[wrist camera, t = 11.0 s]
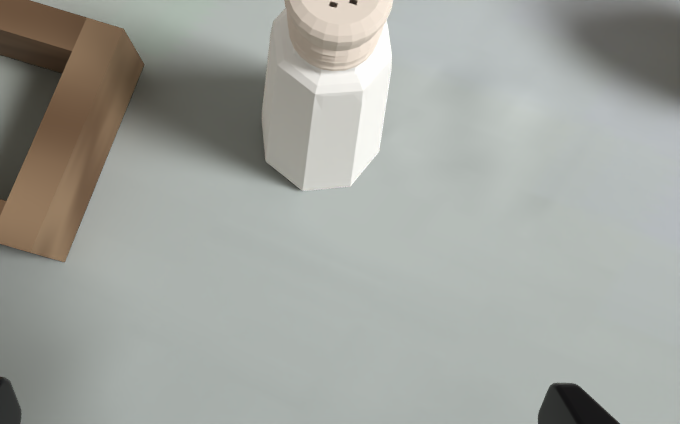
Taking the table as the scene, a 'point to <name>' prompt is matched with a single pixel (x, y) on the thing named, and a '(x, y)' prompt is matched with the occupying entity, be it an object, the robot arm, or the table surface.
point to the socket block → (64, 120)
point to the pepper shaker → (326, 90)
